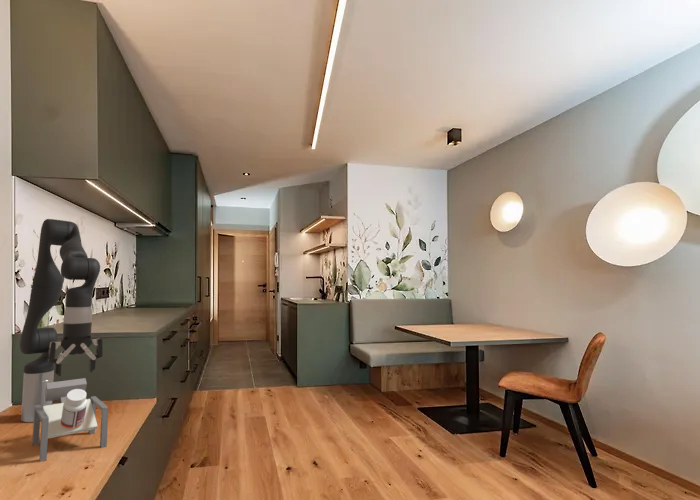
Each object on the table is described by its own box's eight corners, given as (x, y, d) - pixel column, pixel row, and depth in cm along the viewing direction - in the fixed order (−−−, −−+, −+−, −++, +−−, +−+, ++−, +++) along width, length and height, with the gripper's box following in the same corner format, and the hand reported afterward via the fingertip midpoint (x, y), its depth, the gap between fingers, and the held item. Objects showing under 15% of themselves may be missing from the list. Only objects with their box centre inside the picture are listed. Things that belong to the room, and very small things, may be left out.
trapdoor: (40, 396, 141) (42, 383, 140) (86, 389, 150) (88, 377, 148) (47, 438, 128) (49, 425, 127) (97, 428, 137) (99, 416, 136)
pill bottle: (83, 414, 139) (88, 386, 135) (84, 428, 134) (89, 400, 131) (59, 417, 135) (64, 388, 131) (60, 432, 130) (65, 402, 127)
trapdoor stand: (32, 444, 136) (34, 405, 137) (93, 431, 148) (95, 396, 149) (40, 461, 124) (42, 418, 125) (106, 446, 135) (108, 407, 136)
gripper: (100, 319, 143) (97, 368, 142) (48, 321, 134) (45, 374, 133) (106, 321, 138) (103, 372, 137) (52, 323, 128) (49, 379, 127)
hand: (75, 373), depth 135 cm, fingers open, 8 cm apart
